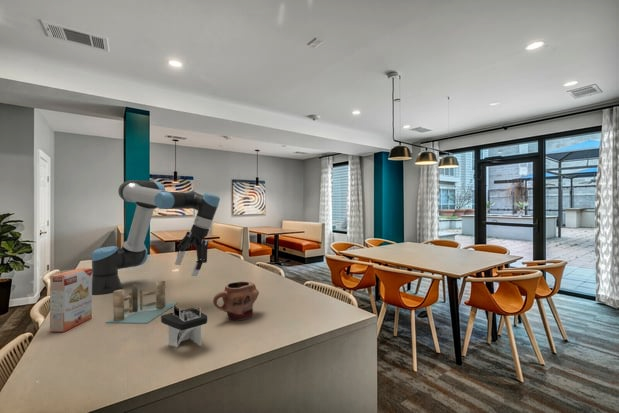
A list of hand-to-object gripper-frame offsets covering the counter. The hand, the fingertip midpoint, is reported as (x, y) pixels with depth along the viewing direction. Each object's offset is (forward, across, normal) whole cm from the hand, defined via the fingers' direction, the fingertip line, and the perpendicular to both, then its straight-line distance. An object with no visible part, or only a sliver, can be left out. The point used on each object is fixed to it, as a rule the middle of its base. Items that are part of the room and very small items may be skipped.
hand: (185, 270), depth 138 cm
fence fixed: (+23, -4, -17) cm, 29 cm away
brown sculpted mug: (+7, +34, +6) cm, 35 cm away
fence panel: (+19, -3, -7) cm, 21 cm away
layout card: (+21, -3, -10) cm, 23 cm away
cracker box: (+29, -12, -32) cm, 45 cm away
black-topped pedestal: (+12, +38, -20) cm, 45 cm away
